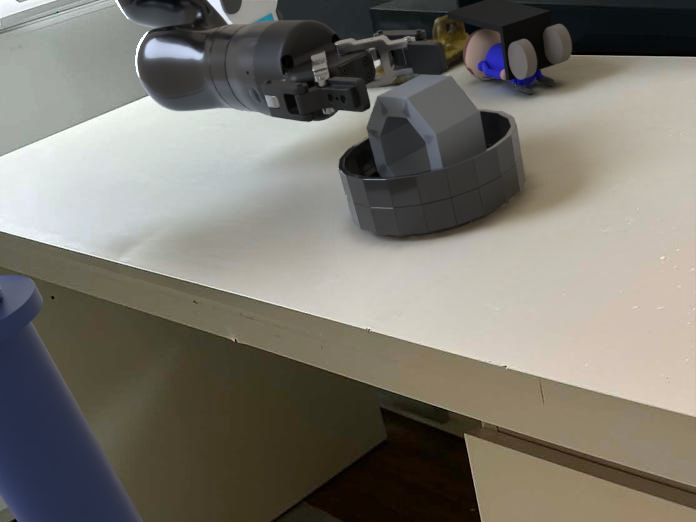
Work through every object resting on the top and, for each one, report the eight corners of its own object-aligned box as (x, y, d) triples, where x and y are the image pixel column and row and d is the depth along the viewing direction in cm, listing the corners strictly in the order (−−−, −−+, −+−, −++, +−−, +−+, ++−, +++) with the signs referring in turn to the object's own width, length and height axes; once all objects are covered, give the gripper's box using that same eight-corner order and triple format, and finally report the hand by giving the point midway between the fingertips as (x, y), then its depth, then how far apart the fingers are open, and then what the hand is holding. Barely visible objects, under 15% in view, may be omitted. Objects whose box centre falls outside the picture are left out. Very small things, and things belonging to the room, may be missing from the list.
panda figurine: (266, 86, 125) (223, -50, 114) (207, 89, 130) (160, -40, 120) (321, 56, 131) (285, -76, 121) (262, 60, 137) (223, -66, 126)
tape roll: (385, 202, 82) (357, 94, 76) (425, 180, 84) (401, 73, 78) (452, 214, 77) (428, 99, 71) (494, 189, 79) (473, 76, 73)
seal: (399, 101, 110) (493, 56, 116) (391, 56, 107) (488, 12, 112) (353, 86, 116) (444, 43, 121) (343, 42, 112) (438, 1, 117)
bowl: (386, 259, 75) (369, 195, 71) (335, 209, 85) (318, 151, 82) (555, 197, 77) (546, 132, 73) (485, 156, 88) (474, 97, 84)
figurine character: (580, 96, 100) (501, 63, 108) (576, 14, 94) (492, -13, 103) (528, 117, 98) (452, 83, 107) (521, 35, 92) (441, 6, 101)
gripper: (206, 49, 79) (322, 52, 69) (334, -4, 85) (458, -7, 75) (239, 145, 84) (351, 160, 74) (357, 89, 90) (476, 96, 80)
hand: (405, 76), depth 74 cm, fingers open, 8 cm apart
